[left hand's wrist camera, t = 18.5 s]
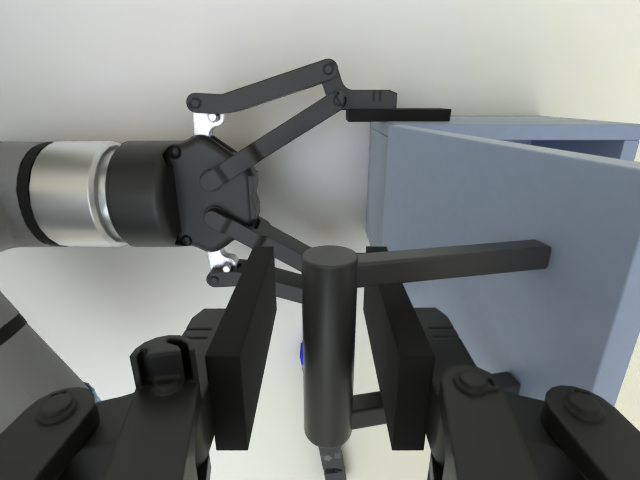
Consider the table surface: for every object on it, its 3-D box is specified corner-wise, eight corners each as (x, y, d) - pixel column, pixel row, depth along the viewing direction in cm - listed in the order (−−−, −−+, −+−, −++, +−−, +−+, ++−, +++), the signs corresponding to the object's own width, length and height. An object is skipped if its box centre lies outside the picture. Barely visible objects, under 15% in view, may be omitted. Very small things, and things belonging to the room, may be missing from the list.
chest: (540, 115, 32) (644, 124, 22) (518, 231, 36) (599, 285, 25) (370, 115, 32) (394, 124, 22) (365, 231, 36) (383, 285, 25)
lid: (696, 170, 8) (324, 188, 6) (579, 513, 11) (322, 577, 10) (403, 124, 21) (262, 126, 20) (391, 288, 25) (270, 300, 24)
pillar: (328, 495, 45) (299, 353, 38) (328, 478, 47) (300, 340, 40) (347, 493, 44) (321, 350, 38) (346, 476, 46) (321, 337, 40)
